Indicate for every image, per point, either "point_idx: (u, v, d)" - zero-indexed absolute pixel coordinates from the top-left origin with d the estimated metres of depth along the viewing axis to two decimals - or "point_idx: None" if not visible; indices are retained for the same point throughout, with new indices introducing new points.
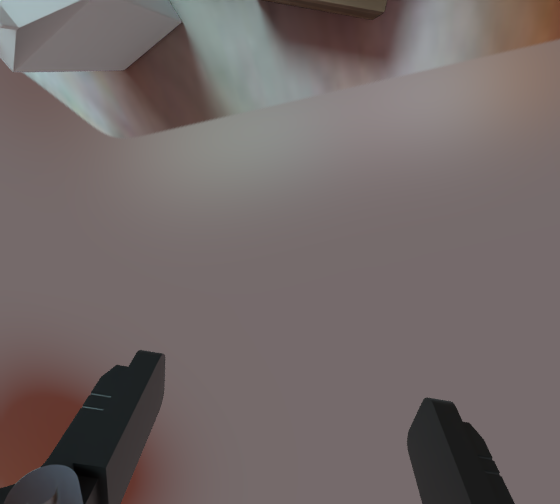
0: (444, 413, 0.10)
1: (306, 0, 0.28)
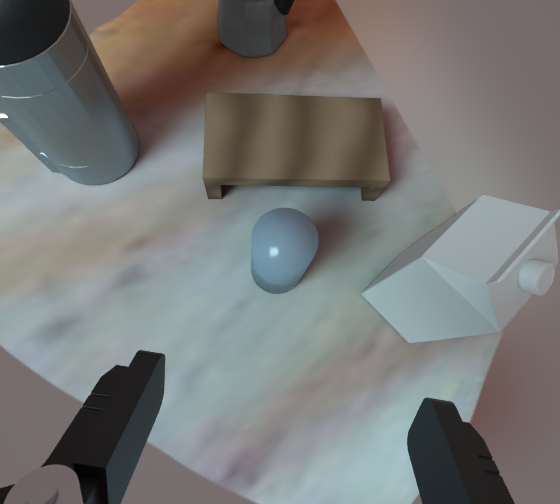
0: (444, 413, 0.10)
1: None
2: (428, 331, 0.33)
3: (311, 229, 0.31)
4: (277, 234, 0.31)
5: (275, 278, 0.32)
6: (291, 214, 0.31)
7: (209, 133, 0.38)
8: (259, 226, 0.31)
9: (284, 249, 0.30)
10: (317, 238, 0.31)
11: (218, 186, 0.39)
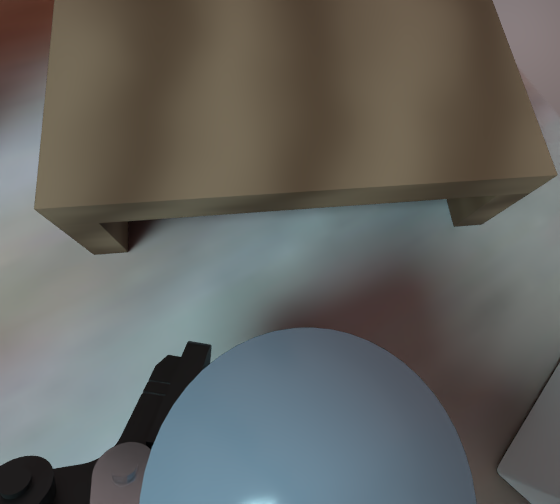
0: None
1: None
2: None
3: (428, 426, 0.07)
4: (271, 476, 0.06)
5: None
6: (327, 357, 0.07)
7: (60, 85, 0.14)
8: (180, 442, 0.06)
9: None
10: (465, 472, 0.06)
11: (98, 228, 0.14)
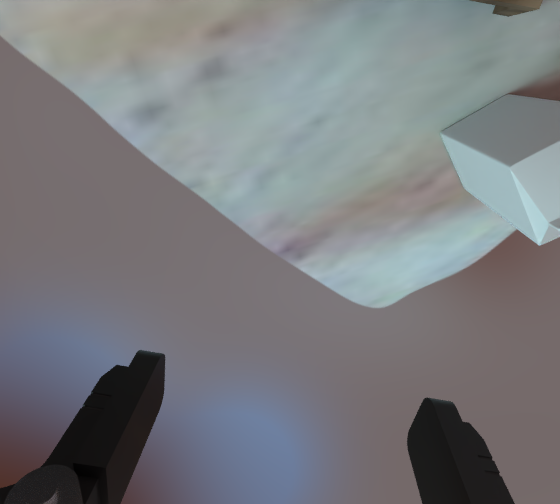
0: (444, 413, 0.10)
1: None
2: (484, 198, 0.36)
3: None
4: None
5: None
6: None
7: None
8: None
9: None
10: None
11: None
